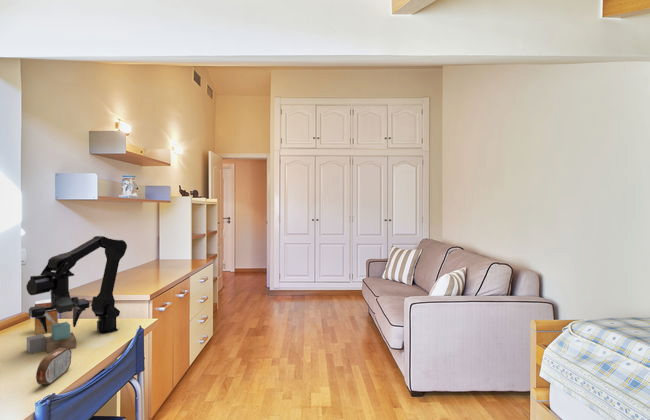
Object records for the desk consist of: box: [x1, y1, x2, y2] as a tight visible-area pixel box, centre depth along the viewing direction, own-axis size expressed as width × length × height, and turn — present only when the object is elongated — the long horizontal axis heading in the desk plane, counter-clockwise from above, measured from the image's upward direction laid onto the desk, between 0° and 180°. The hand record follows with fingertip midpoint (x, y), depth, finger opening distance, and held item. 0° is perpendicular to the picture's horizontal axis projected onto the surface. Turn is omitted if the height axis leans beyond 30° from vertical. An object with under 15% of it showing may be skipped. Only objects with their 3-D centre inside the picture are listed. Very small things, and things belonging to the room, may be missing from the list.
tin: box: [35, 348, 72, 386], centre depth 126 cm, size 15×3×8 cm, turn 5°
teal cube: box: [50, 321, 71, 341], centre depth 151 cm, size 5×5×5 cm
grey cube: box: [26, 333, 47, 355], centre depth 148 cm, size 5×5×5 cm
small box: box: [34, 298, 59, 335], centre depth 169 cm, size 8×6×13 cm
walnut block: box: [45, 331, 77, 355], centre depth 151 cm, size 9×9×4 cm
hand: (60, 329), depth 151 cm, fingers open, 9 cm apart
